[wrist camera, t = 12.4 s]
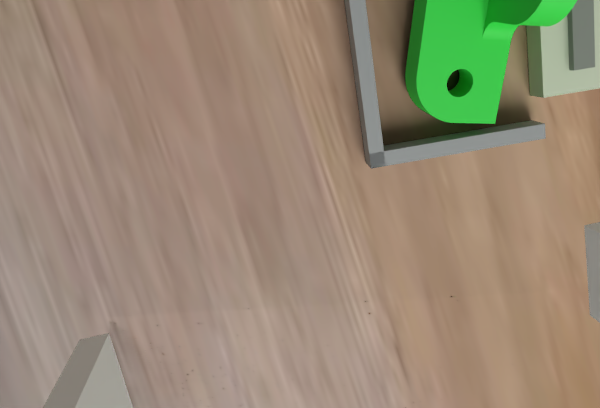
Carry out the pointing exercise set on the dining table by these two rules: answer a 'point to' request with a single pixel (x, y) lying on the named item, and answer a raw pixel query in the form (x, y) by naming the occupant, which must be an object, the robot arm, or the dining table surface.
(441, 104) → the mechanical part
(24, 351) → the dining table surface
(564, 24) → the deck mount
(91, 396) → the robot arm
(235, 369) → the dining table surface
